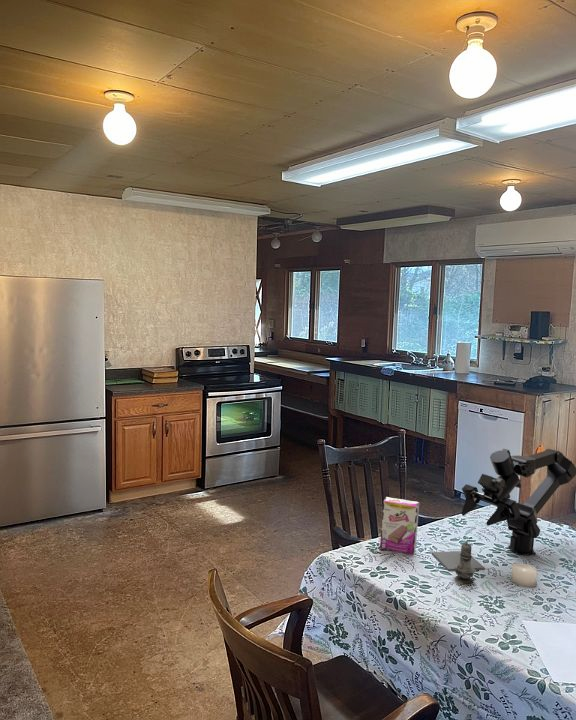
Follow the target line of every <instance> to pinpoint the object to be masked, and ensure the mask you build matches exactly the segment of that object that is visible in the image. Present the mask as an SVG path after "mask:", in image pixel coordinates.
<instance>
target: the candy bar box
mask: <svg viewBox="0 0 576 720" xmlns="http://www.w3.org/2000/svg"><path fill="white" fill-rule="evenodd" d="M382 504H383V505H382V518H381V529H380V530H381V533H380V541H379V542H380V543H379V548H380V550H387V551H391V552H395V553H396V552H397V553H401V554H402V553H403V554H407V555H411V556H414V555H415V551H416V548H417V538H418V537H417V536H418V525H419V511H420V502H418V501H415V500H414V501H413V500H408V499H403V498H395V497H389V496H385V498H384V500H383V502H382Z"/></svg>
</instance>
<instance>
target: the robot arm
mask: <svg viewBox="0 0 576 720" xmlns="http://www.w3.org/2000/svg"><path fill="white" fill-rule="evenodd" d="M489 459H490V462H491V464H492V467H493V469H494V470H493V471H494V473H495V474H496V475H498V477H497V478H495V477H493V476H492V475H488V474H484V473H481V475H480V476H479V477H480V478H479V479H478V481H477V484H478V485H480V486H481V490H482V492H483V493H481V492H479V489H478V487H476V486H473V485H470V484H465V485H464V486H463V487H462V488H461V491H462V493H463V495H464V498H465V501H464V504H463V507H462V510H461V516H466V515H468V513H470V512H471V511H472V510H473V509H474V508H476V507H477V505H478V504H479V503H480V502H481V501H482V502H484V503H487V504H489V505H490V506H493V507H496V509H495V511H494V512H493V513H492V514H491V516H490V517H489V518H488V519H487V521H486V523H485V524H486V526H487V527H488V526H491V525H492V526H493V525H495V524H498V523H500V522H506V524H507V529H508V531H512V532H511V535H510V541H509V544H508V545H507V548H508V549H510V550H511V551H513V552H514V553H515V554H516V555H518V556H521V555H523V556H524V554H528V555H536V553H537V552H536V551H534V545H535V544H534V543H535V539H538V537H539V535H540V532H541V528H540V527H539V526H538V524H537V523H538V514H539V513H540V511H541V510H542V509H543V507H544V506H545V505H546V504H547V502H548V501H549V500H550V499H551V497H552V496H553V495H554V493H555V492H556V491H557V490H558V488H560V486H562V485H565V484H569V483H570V482H571V480H573V479H574V478H575V477H576V466H575V464H574V462H573V461H572V460H570V459H569V458H567V457H566V456H565V455H564V454H563V453H562V452H561V451H560V450H555V449H552V448H547V449H545V450H543V451H540V452H536V453H533V454H530V455H512V456H511V451H510V449H508V448H502V450H496V451H495V452H492V453H491V454H490V456H489ZM544 467H546V476H545V478H544V479H543V480H542V481H541V483H539V485H538V486H537V488H536V489H535V490H534V491H533V492H532V493H531V495H530V496H529V498H528V499H527V500H526V501H525V502H524V503H520V502H517V501H516V500H513V499H512V498H511V495H510V494H511V493H512V492H513V490H514V489H515V488H519V489H521V487H522V484H521V481H522V480H521V479H520V477H524V478H529V477H531V476H533V475H534V474H535V473H536V470H537V469H540V468H544ZM510 498H511V499H510Z"/></svg>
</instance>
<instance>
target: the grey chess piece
mask: <svg viewBox="0 0 576 720" xmlns="http://www.w3.org/2000/svg"><path fill="white" fill-rule="evenodd" d="M460 551H461V554H460V555H459V556H460V563H459V564H457V565H455V566H454V568H455V571H454V572H455V574H456V576H455V577H453V578H454V581H455V582H457V583H458V584H462V585H472V584H473V583H474V580H473V579H472V578H473V576H474V574H475V572H476V570H475V569H474V568H473V567H472V566H471V558H472V557H473V555H472V545H471V544H469V541H468V540H466V541H465V542H464V543H462V544H461V548H460Z"/></svg>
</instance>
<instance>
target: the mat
mask: <svg viewBox="0 0 576 720" xmlns="http://www.w3.org/2000/svg"><path fill="white" fill-rule="evenodd" d="M460 554H461V550H458V551H457V550H455V551H431V555H432V556H433V557H434V558H435V559H436V560H437V561H438V562H439V563H440V564H441V565H442V566H443V567H444V568H445V570H447V571H448V572H456V571H455V568H454V566H455V565H457V564H459V563H460V556H459V555H460ZM471 566H472V567H473V568H474V569H475V571H479V570H480V571H481V570H485V569H486V566H484V565H482V563H480V561H478V560H477V558H475V557H474V556H472V558H471Z"/></svg>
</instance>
